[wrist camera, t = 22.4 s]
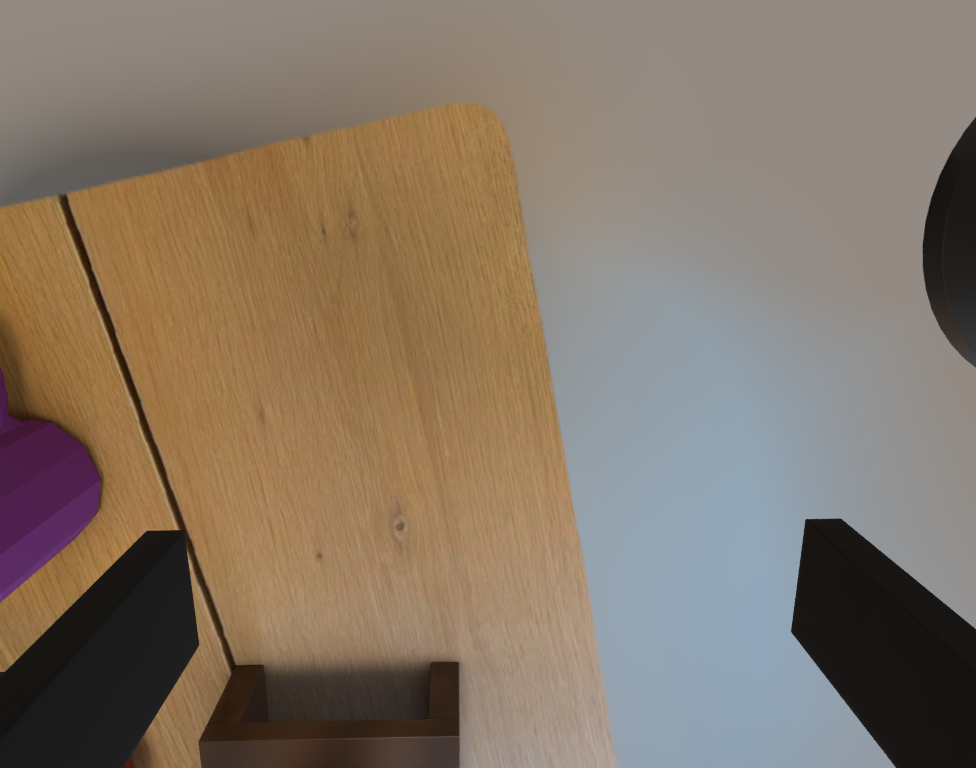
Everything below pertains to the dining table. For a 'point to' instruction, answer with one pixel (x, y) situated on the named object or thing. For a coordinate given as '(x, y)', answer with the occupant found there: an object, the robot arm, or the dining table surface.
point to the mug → (40, 494)
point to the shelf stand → (330, 732)
